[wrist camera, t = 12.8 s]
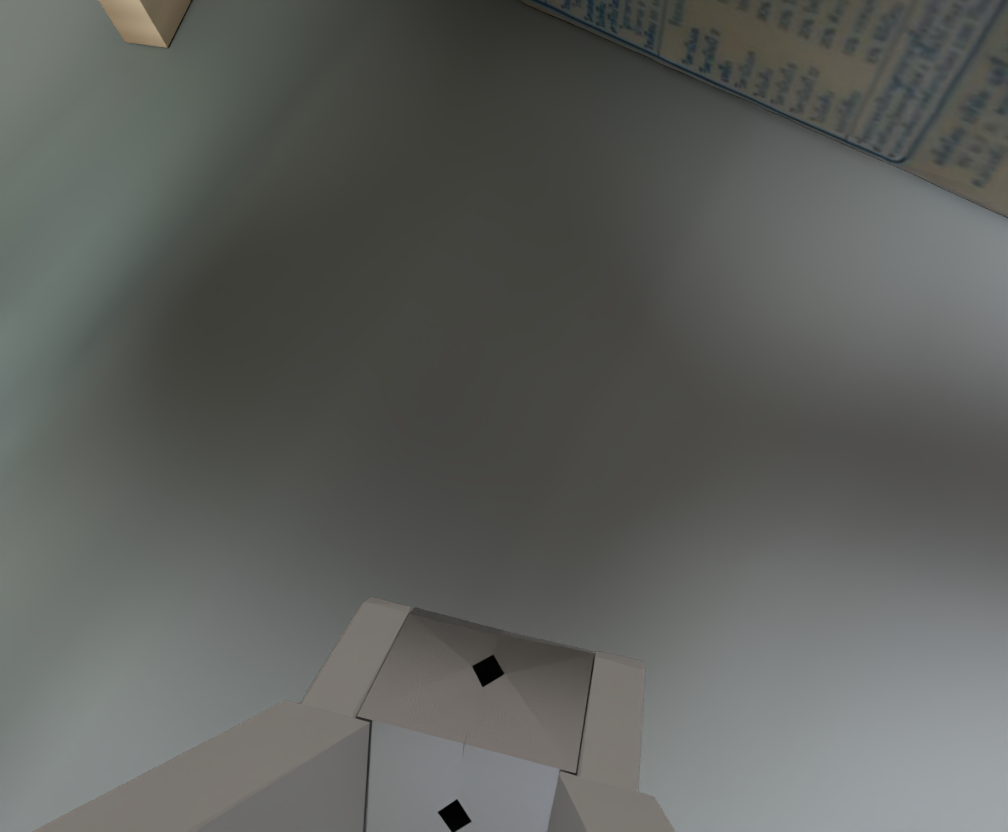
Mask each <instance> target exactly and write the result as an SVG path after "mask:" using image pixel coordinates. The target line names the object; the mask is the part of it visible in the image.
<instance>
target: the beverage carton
mask: <svg viewBox="0 0 1008 832" xmlns="http://www.w3.org/2000/svg"><path fill="white" fill-rule="evenodd" d="M518 1H520V2H522V3H524V4H527V5H529V6H531V7H534V8H536V9H538V10H541V11H543V12H545V13H548V14H550V15H553V16H555V17H557V18H560V19H562V20H564V21H567V22H569V23H571V24H574V25H576V26H578V27H580V28H583V29H585V30H587V31H590V32H592V33H594V34H596V35H599V36H601V37H603V38H605V39H608V40H610V41H612V42H614V43H617V44H619V45H621V46H623V47H626V48H628V49H631V50H633V51H635V52H638V53H640V54H643V55H645V56H647V57H649V58H651V59H653V60H655V61H657V62H658V63H660V64H662V65H665V66H667V67H669V68H672V69H674V70H677V71H679V72H682V73H684V74H686V75H689V76H691V77H693V78H695V79H698V80H700V81H702V82H705V83H707V84H709V85H711V86H714V87H716V88H719V89H721V90H723V91H726V92H728V93H730V94H733V95H735V96H738V97H740V98H742V99H745V100H747V101H750V102H752V103H754V104H757V105H759V106H761V107H763V108H764V109H766V110H768V111H771V112H773V113H776V114H778V115H781V116H784V117H786V118H788V119H790V120H792V121H794V122H796V123H798V124H800V125H802V126H804V127H806V128H808V129H811V130H813V131H815V132H818V133H820V134H822V135H824V136H827V137H829V138H831V139H834V140H836V141H838V142H840V143H843V144H845V145H847V146H850V147H852V148H854V149H856V150H859V151H861V152H863V153H866V154H868V155H870V156H873V157H875V158H877V159H879V160H882V161H884V162H886V163H889V164H891V165H894V166H896V167H899V168H901V169H903V170H906V171H908V172H911V173H913V174H915V175H917V176H919V177H921V178H923V179H925V180H927V181H929V182H931V183H933V184H935V185H937V186H939V187H941V188H943V189H945V190H948V191H950V192H952V193H954V194H956V195H959V196H961V197H963V198H965V199H967V200H970V201H972V202H974V203H976V204H978V205H981V206H983V207H985V208H987V209H989V210H992V211H994V212H996V213H998V214H1001V215H1003V216H1005V217H1008V0H518Z"/></svg>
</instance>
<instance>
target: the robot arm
mask: <svg viewBox="0 0 1008 832" xmlns="http://www.w3.org/2000/svg"><path fill="white" fill-rule="evenodd" d="M644 683H645V666H644V664H643V662H642V661H641V660H636V659H631V658H627V657H622V656H617V655H613V654H608V653H603V652H599V651H595V654H594V652H593V651H590V650H585V649H581V648H577V647H572V646H568V645H564V644H559V643H555V642H551V641H546V640H542V639H538V638H533V637H529V636H524V635H520V634H516V633H511V632H507V631H503V630H499V629H496V628H492V627H488V626H484V625H480V624H476V623H473V622H469V621H465V620H461V619H457V618H454V617H450V616H446V615H442V614H438V613H435V612H431V611H427V610H423V609H419V608H411V607H408V606H405V605H401V604H397V603H393V602H389V601H385V600H381V599H378V598H374V597H370V598H369V599H367V600H366V601H365V602H363V603H362V604H361V605H360V606H359V608H358V610H357V611H356V613H355V614H354V616H353V618H352V619H351V621H350V623H349V624H348V626H347V627H346V629H345V631H344V632H343V634H342V636H341V637H340V639H339V640H338V642H337V644H336V645H335V647H334V648H333V650H332V652H331V653H330V655H329V657H328V658H327V660H326V661H325V663H324V665H323V666H322V668H321V670H320V671H319V673H318V674H317V676H316V678H315V679H314V681H313V682H312V684H311V686H310V687H309V689H308V691H307V692H306V694H305V695H304V697H303V699H302V700H301V702H300V704H299V703H295V702H291V701H287V700H285V701H283V702H281V703H279V704H277V705H275V706H273V707H271V708H269V709H268V710H266V711H264V712H262V713H260V714H258V715H256V716H254V717H252V718H250V719H248V720H246V721H244V722H242V723H241V724H239V725H237V726H235V727H233V728H231V729H229V730H227V731H225V732H223V733H221V734H219V735H217V736H215V737H214V738H212V739H210V740H208V741H206V742H204V743H202V744H200V745H198V746H196V747H194V748H192V749H190V750H188V751H187V752H185V753H183V754H181V755H179V756H177V757H175V758H173V759H171V760H169V761H167V762H165V763H163V764H161V765H160V766H158V767H156V768H154V769H152V770H150V771H148V772H146V773H144V774H142V775H140V776H138V777H136V778H134V779H133V780H131V781H129V782H127V783H125V784H123V785H121V786H119V787H117V788H115V789H113V790H111V791H109V792H107V793H106V794H104V795H102V796H100V797H98V798H96V799H94V800H92V801H90V802H88V803H86V804H84V805H82V806H80V807H79V808H77V809H75V810H73V811H71V812H69V813H67V814H65V815H63V816H61V817H59V818H57V819H55V820H53V821H52V822H50V823H48V824H46V825H44V826H42V827H40V828H38V829H36V830H34V831H32V832H675V830H674V828H673V827H672V825H671V823H670V822H669V820H668V818H667V817H666V815H665V813H664V812H663V810H662V808H661V807H660V805H659V804H658V802H657V800H656V799H655V797H653V796H650V795H646V794H643V793H639V775H640V757H641V739H642V720H643V702H644Z"/></svg>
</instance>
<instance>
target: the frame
mask: <svg viewBox="0 0 1008 832" xmlns="http://www.w3.org/2000/svg"><path fill="white" fill-rule="evenodd" d="M98 1H99V2H100V4H101V5H102V7H103V8H104V10H105V11H106V13H107V14H108V16H109V18H110V19H111V21H112V22H113V24H114V25H115V27H116V28H117V30H118V31H119V33H120V35H121V36H122V38H123V39H124V41H125V42H129V43H137V44H144V45H151V46H158V47H166V48H168V46H169V44H170V42H171V40H172V38H173V36H174V34H175V32H176V30H177V28H178V26H179V24H180V22H181V20H182V18H183V16H184V14H185V12H186V10H187V8H188V6H189V4H190V2H191V0H98Z"/></svg>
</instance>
